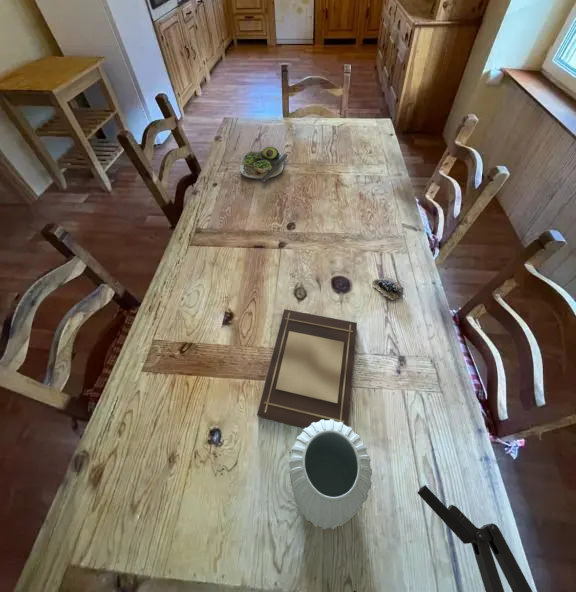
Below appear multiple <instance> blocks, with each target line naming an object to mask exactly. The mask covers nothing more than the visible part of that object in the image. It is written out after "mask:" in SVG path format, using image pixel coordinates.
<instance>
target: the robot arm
mask: <svg viewBox="0 0 576 592" xmlns="http://www.w3.org/2000/svg"><path fill="white" fill-rule="evenodd" d="M417 494H418V496H419V497H420V498H421V499H422V500H423V501H424V502H425V503H426V504H427V505H428V506H429V508H430V509H431V510H432V511H433V512H434V513H435V514H436V515H437V516H438V517H439V518H440V520H441V521H442V522H443V523H444V524H445V525H446V526H447V527H448V528H449V529H450V530H451V531H452V533H453V534H454V535H455V536H456V537H457V538H458V539H459V540H460V541H461V543H462V544H463V545H467V544H471V548H472V550H473V554H474V558H475V561H476V565H477V567H478V568H477V569H478V570H479V575H480V577H481V581H482V584H483V587H484V591H485V592H505V589H504V586H503V583H502V579H501V577H500V574H499V571H498V568H497V565H496V562H497V564H498V566H499V568H500V570H501V572H502V574H503V576H504V578H505V580H506V582H507V583H508V586H509V587H510V590H511V592H533V590H532V588H531V586H530V584H529V582H528V579H526V576H525V574H524V572H523V571H522V569H521V567H520V565H519V563H518V562H517V560H516V557H515V555H514V554H513V552H512V550H511V549H510V546H509V545H508V543H507V541H506V539H505V536H504V535H503V533H502V531H501V530H500V527H499V526H498V525H497V524H496V523H487V524H483V526H481V527H480V528H478V527H477V526H476V525H475V524H474V523H473V522H472V520H470V518H468V517H467V516H466V515H465V514H464V513H463V512H462V511H461V510H460V508H459V507H457V506H455V505H454V504H451V505H449V506H448V507H447V506H446V505H445V504H444V503H443V502H442V501H441V500H440V499H439V498H438V497H437V496H436V495H435V493H434V492H433V491H431V490H430V488H429V487H428V486H427V485H426V484H425V485H423V486H420V488H419V489H418V491H417ZM494 558H495V559H494ZM495 560H496V562H495ZM353 592H357V590H353Z"/></svg>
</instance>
